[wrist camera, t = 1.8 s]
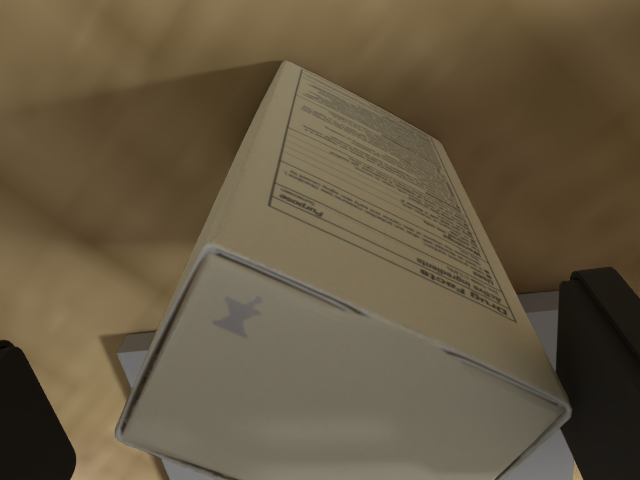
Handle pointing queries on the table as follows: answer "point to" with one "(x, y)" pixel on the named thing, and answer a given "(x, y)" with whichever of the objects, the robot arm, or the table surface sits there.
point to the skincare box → (342, 314)
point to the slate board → (530, 476)
